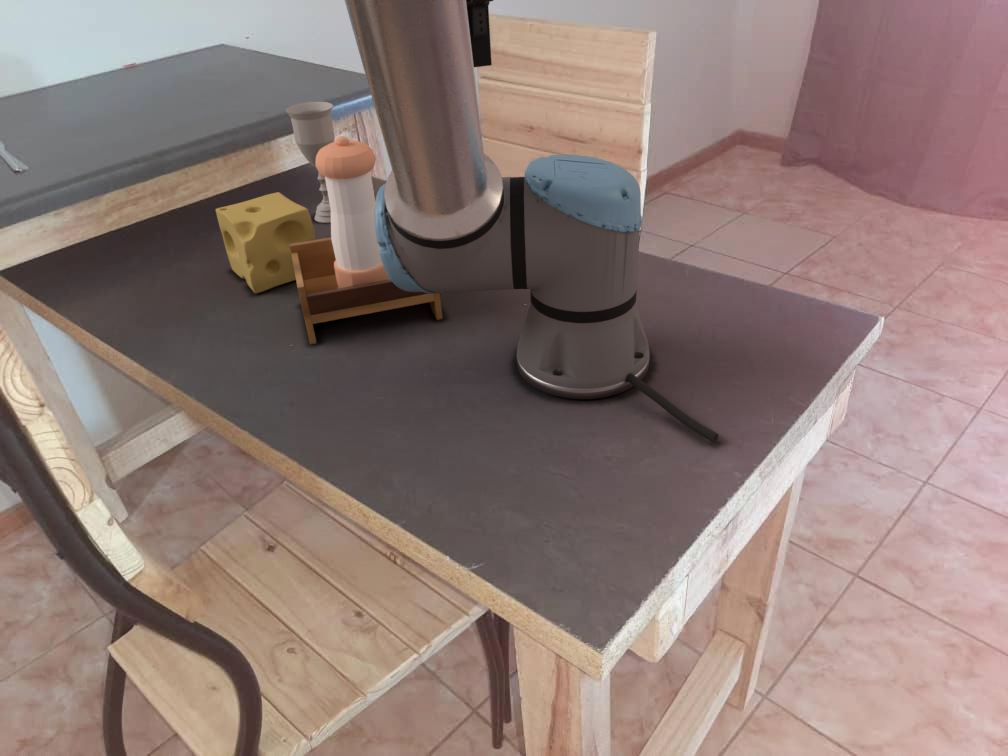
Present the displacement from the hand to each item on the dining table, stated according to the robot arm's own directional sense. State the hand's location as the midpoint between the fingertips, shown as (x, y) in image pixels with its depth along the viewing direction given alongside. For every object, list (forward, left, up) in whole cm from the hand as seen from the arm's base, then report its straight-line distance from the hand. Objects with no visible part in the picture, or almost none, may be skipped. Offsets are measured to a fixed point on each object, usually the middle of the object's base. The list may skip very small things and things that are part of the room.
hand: (465, 55), depth 97 cm
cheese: (+9, +29, -29) cm, 42 cm away
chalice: (+27, +19, -29) cm, 44 cm away
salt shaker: (-8, +18, -25) cm, 32 cm away
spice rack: (-8, +18, -29) cm, 35 cm away
